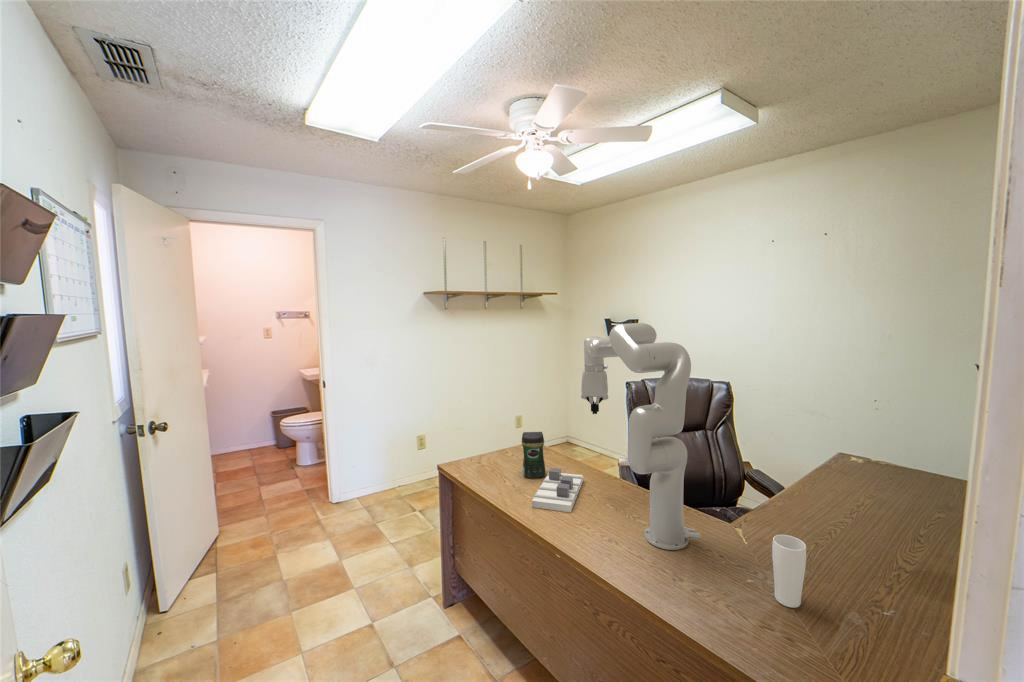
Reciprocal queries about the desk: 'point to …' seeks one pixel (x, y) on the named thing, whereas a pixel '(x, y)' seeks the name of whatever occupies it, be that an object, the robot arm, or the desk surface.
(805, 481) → the desk surface
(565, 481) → the tab
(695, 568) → the desk surface
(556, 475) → the tab
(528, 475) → the coffee jar
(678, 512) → the robot arm
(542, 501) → the switch board
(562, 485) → the tab
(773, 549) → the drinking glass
